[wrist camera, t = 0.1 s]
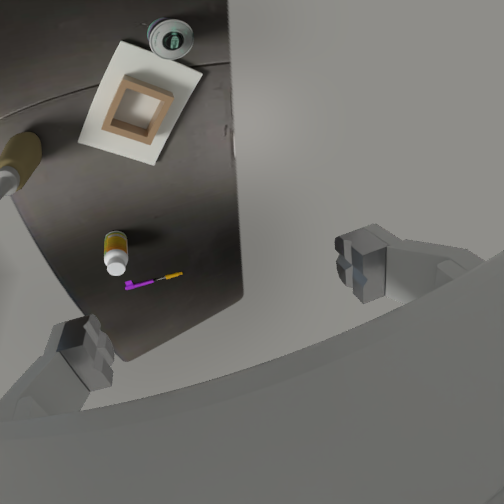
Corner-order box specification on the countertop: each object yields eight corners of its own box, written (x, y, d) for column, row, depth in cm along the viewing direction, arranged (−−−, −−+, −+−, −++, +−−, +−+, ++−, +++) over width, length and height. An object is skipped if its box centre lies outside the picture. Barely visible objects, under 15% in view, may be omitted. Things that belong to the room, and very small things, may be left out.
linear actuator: (125, 288, 81) (182, 273, 84) (125, 291, 80) (182, 276, 83) (122, 280, 79) (179, 265, 82) (122, 283, 78) (180, 267, 82)
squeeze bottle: (26, 171, 50) (0, 227, 38) (3, 143, 44) (-32, 193, 32) (54, 148, 49) (31, 200, 37) (31, 117, 44) (-2, 161, 31)
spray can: (171, 12, 40) (186, 12, 27) (184, 37, 44) (205, 50, 31) (141, 27, 41) (141, 34, 27) (155, 51, 45) (163, 71, 31)
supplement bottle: (102, 231, 66) (101, 262, 60) (125, 228, 68) (126, 258, 61) (107, 249, 70) (106, 279, 63) (128, 246, 72) (130, 276, 65)
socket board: (121, 40, 41) (119, 43, 37) (201, 72, 50) (207, 78, 46) (78, 139, 50) (74, 151, 47) (153, 162, 60) (155, 175, 56)
